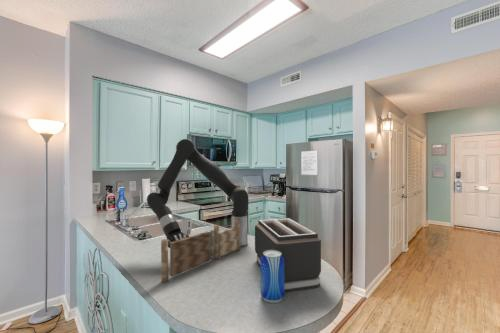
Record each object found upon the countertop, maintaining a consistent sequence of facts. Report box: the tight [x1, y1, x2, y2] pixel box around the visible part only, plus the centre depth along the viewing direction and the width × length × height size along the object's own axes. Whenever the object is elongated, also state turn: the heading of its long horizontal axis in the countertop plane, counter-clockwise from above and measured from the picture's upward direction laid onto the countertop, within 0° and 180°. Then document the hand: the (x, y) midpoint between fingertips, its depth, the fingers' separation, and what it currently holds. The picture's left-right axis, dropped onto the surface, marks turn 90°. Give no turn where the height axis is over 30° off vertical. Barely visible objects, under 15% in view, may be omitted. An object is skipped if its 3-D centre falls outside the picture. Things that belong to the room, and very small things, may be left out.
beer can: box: [260, 250, 285, 304], centre depth 85 cm, size 8×8×16 cm
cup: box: [179, 217, 193, 236], centre depth 163 cm, size 8×8×10 cm
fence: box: [160, 219, 241, 284], centre depth 114 cm, size 47×3×17 cm, turn 141°
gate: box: [169, 229, 214, 278], centre depth 109 cm, size 24×2×14 cm, turn 141°
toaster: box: [254, 217, 322, 293], centre depth 107 cm, size 19×35×20 cm, turn 14°
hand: (185, 256), depth 110 cm, fingers closed
